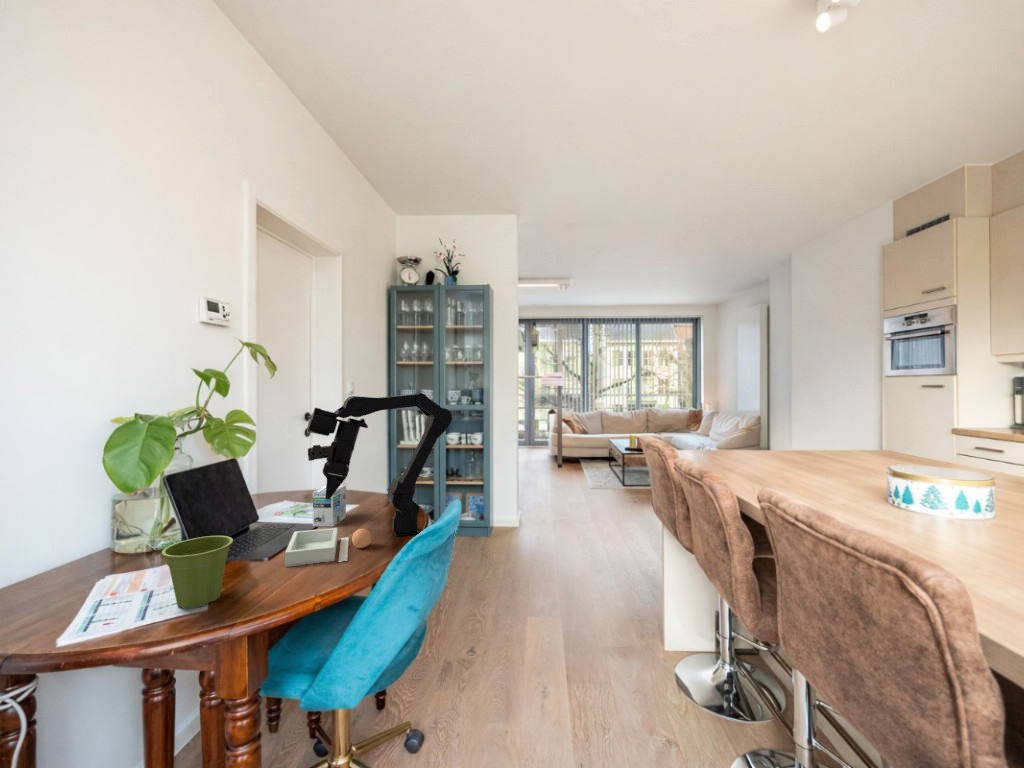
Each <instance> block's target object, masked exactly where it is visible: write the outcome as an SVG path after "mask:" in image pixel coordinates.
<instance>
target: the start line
mask: <svg viewBox="0 0 1024 768" xmlns="http://www.w3.org/2000/svg"><path fill="white" fill-rule="evenodd" d="M349 539H350V538H349V536H346V537H341V538H340V544H339V545H340V547H339V554H338V562H339V563H343V562H342V561H347V562H348V554H349Z"/></svg>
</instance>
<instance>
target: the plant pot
mask: <svg viewBox="0 0 1024 768" xmlns="http://www.w3.org/2000/svg"><path fill="white" fill-rule="evenodd" d="M233 542H234V539H233V538H232V537H230V536H227V535H209V536H208V535H207V536H201V537H200V536H199V537H195V538H190V539H186V540H182V541H178V542H176V543H173V544H170V545H168V546H166V547H165V548H163V549H162V550H161V555H163V557H165V560H166V561H165V562H166V565H167V567H168V569H169V574H170V576H171V581H172V587H173V591H174V592H173V593H174V597H175V601H176V605H177V606H178V607H181V608H183V607H184V608H183V609H193V608H194V609H195V608H199V607H203V606H205V605H208V603H210V602H215V601H216V600H218V599H219V598H220V597H221V593H222V587H223V580H224V575H225V570H226V564H227V558H228V555H229V553H230V552H229V551H230V547H231V545H232V544H233Z"/></svg>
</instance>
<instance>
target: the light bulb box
mask: <svg viewBox="0 0 1024 768" xmlns="http://www.w3.org/2000/svg"><path fill="white" fill-rule="evenodd" d="M325 497H326V485H324V486H322V487H320V488H318V489H316V490H315V491H312V527H325V528H326V527H332V528H334V527H335V526H337V525H338V524H339V523H340V522H341V521H344V519H346V517H347V485H346V484H341V485H340V486H339V488H338V489H337V490H336V491H335V493H334V494H333V495H332V497H331V498H330V499H326V498H325Z"/></svg>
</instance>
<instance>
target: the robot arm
mask: <svg viewBox="0 0 1024 768" xmlns="http://www.w3.org/2000/svg"><path fill="white" fill-rule="evenodd" d="M414 407H416V408H417V409H418V410H420V412H422V414H424V415H425V416H426V420H425V424H424V431H423V433H422V436H421V438H420V439H419V442H418V444H417V446H416V447H415V449H414V452H413V454H412V456H411V457H410V460H409V462H408V463H407V465H406V468H405V469H404V471H403V473H402V475H401V476H400V477H399V478H395V477H393V478H392V480H391V483H390V486H389V487H388V488H387V489H386V491H387V496H386V497H387V500H388V502H389V503H390V505H392V506H393V507H394V509H395V511H394V515H393V516H392V532H393V534H394V535H395V537H402V536H412V535H413V536H414V535H419V531H418V514H419V511H420V509H421V507H420V505H418V504H417V503H416V502H415V501H414V500H413V498H414V495H415V492H416V484H417V480H418V478H419V477H420V475H421V472H422V470H423V468H424V466H425V464H426V463H427V460H428V458H429V457H430V454H431V452H432V450H433V448H434V446H435V444H436V442H437V441H438V439H439V438H440V436H441V435H443V434H444V432H446V430H447V429H448V428H449V426H450V425H451V424H452V422H453V415H452V413H451V412H452V411H450V410H449V409H448V408H444V407H441V406H440V405H439V404H438V403H436V402H435V401H433V400H432V399H430V398H429V397H428V396H427V395H426V394H424V392H422V393H420V392H415V393H409V394H402V395H391V396H382V397H381V396H380V397H372V396H371V397H370V396H358V395H356V396H355V395H351V396H348V397H347V398H346V399H345V400H344V402H343V405H342V406H340V407H339V408H337V409H336V410H335V411H334V412H333V411H329V410H325V409H322V408H319V407H314V408H313V412H312V413H311V416H310V418H309V421H308V424H307V428H306V432H307V433H312V434H316V435H321V436H325V437H329V436H330V434H335V436H334V439H333V441H332V442H331V443H330V445H322V446H321V444H317V445H314V444H313V445H312V446H311V447H309V448H308V449H307V459H308V461H315V460H320V459H326V462H325V463H324V465H323V469H322V474H323V475H324V477H325V478H326V485H325V486H326V497H325V498H326V499H330V498H331V497H332V495H333V494H334V493H335V491H336V490H337V489H338V488H339V486H340V485H343V482H344V481H345V480H346V478H347V477H348V474H349V471H350V464H351V459H352V455H353V452H354V449H355V445H356V442H357V439H358V436H359V431H360V429H361V428H365V429H368V428H369V426H368V424H367V423H366V420H365V418H360V417H364V416H367V415H370V414H374V413H376V412H380V411H387V410H396V409H403V408H404V409H405V408H414ZM351 417H354V418H351ZM339 418H341V419H339ZM346 418H348V419H347V420H345V419H346ZM356 418H360V419H356ZM338 422H339V423H338Z"/></svg>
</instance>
